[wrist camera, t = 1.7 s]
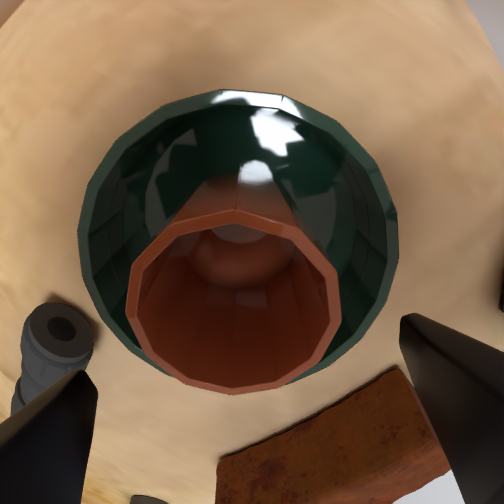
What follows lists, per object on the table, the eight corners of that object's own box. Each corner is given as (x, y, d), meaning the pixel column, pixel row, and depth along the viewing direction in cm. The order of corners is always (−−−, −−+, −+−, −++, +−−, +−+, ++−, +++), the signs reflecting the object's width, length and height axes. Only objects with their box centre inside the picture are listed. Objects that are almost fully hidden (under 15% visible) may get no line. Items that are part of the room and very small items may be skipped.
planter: (340, 82, 15) (375, 66, 10) (368, 310, 20) (396, 358, 15) (89, 144, 16) (40, 154, 11) (163, 349, 21) (146, 401, 16)
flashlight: (49, 283, 19) (8, 324, 14) (110, 325, 20) (81, 376, 15) (24, 389, 23) (2, 425, 18) (67, 417, 25) (49, 456, 20)
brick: (208, 529, 18) (214, 457, 26) (271, 545, 21) (268, 483, 29) (438, 441, 14) (395, 359, 22) (460, 469, 16) (427, 403, 24)
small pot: (288, 160, 16) (326, 189, 8) (309, 277, 18) (345, 374, 11) (160, 189, 16) (95, 243, 9) (196, 300, 19) (170, 402, 11)
